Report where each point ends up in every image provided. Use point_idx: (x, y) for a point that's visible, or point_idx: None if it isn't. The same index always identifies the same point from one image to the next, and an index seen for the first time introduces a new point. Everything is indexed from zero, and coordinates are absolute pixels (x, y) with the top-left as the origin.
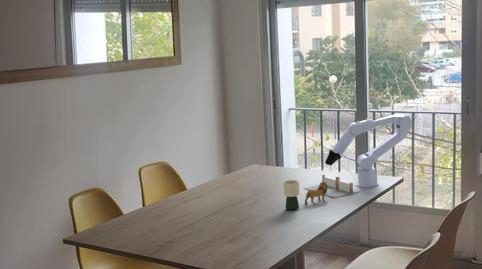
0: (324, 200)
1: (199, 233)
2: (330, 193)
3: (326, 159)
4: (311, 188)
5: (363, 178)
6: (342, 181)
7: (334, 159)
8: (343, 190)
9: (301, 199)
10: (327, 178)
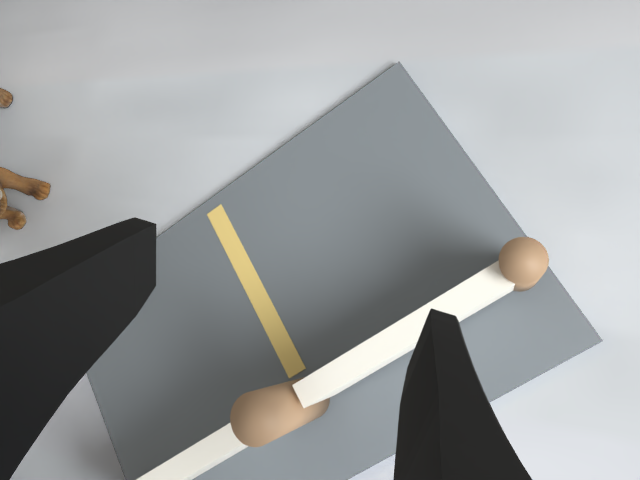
0: (11, 223)
1: None
2: (165, 293)
3: (74, 241)
4: (369, 131)
5: None
6: (198, 453)
7: (39, 428)
8: None
9: (102, 63)
10: (428, 304)
